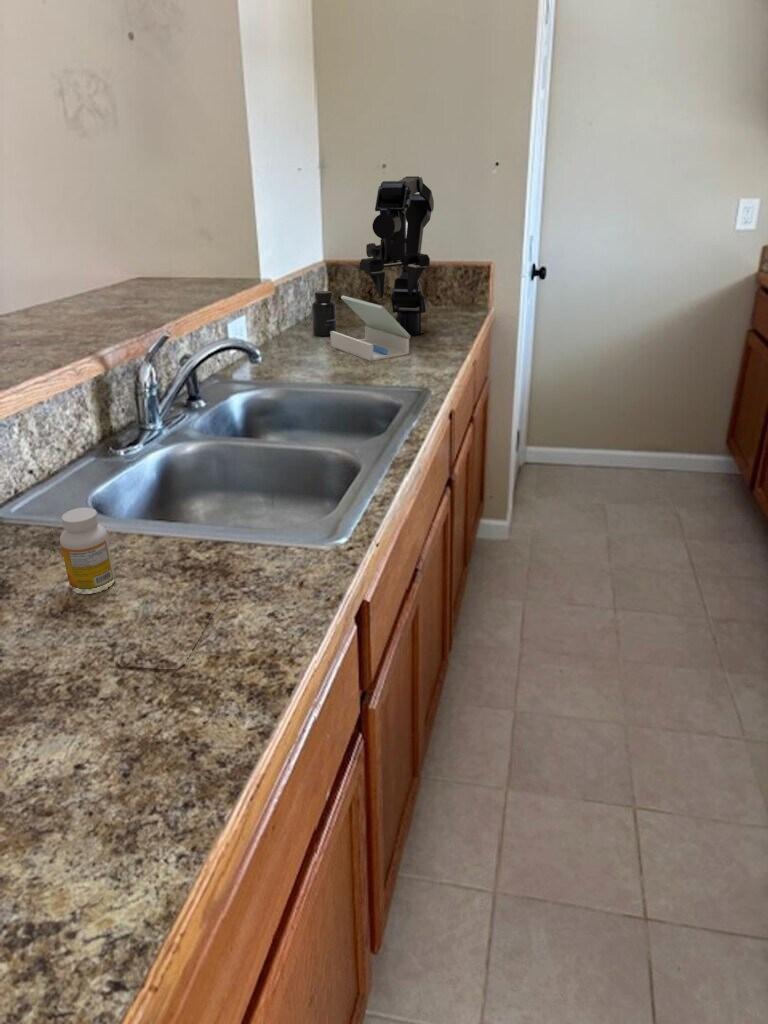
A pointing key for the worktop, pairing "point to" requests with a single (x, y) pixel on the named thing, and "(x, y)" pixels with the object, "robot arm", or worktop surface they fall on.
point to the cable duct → (372, 344)
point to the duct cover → (375, 316)
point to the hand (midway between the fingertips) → (395, 296)
